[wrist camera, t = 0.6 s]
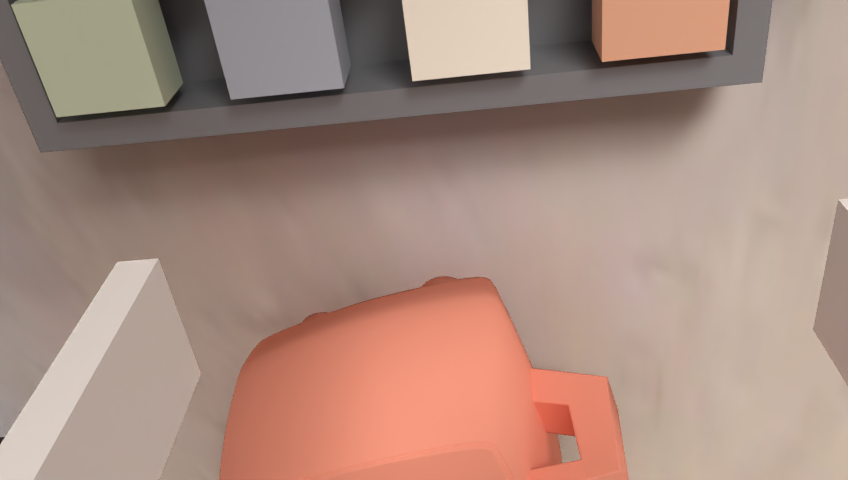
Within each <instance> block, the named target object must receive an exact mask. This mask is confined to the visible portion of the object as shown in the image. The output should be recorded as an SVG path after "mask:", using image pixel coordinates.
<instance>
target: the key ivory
mask: <svg viewBox="0 0 848 480" xmlns="http://www.w3.org/2000/svg"><path fill="white" fill-rule="evenodd" d="M402 6H403V13H404V21H405V28H406V36H407V44H408V51H409V59H410V66H411V74H412V81H420V80H430V79H440V78H449V77H459V76H469V75H479V74H489V73H499V72H509V71H518V70H528V69H531V68H530V45H529V22H528V0H402Z"/></svg>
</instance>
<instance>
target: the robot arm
mask: <svg viewBox="0 0 848 480" xmlns="http://www.w3.org/2000/svg"><path fill="white" fill-rule="evenodd" d="M813 330H814V332H815V333H816V335H817V337H818V338H819V340H820V342H821V343H822V345H823V346H824V348H825V350H826V351H827V353H828V354H829V356H830V358H831V359H832V361H833V362H834V364H835V366H836V367H837V369H838V371H839V372H840V374H841V375H842V377H843V379H844V380H845V382H846V383H847V385H848V199H838V204H837V209H836V214H835V219H834V225H833V230H832V235H831V240H830V245H829V250H828V256H827V261H826V266H825V271H824V276H823V281H822V286H821V292H820V297H819V302H818V307H817V312H816V317H815V323H814V328H813ZM200 375H201V373H200V370H199V367H198V365H197V362H196V359H195V356H194V354H193V351H192V348H191V346H190V343H189V340H188V337H187V335H186V332H185V329H184V326H183V324H182V321H181V318H180V316H179V313H178V310H177V307H176V305H175V302H174V299H173V297H172V294H171V291H170V288H169V286H168V283H167V280H166V277H165V275H164V272H163V269H162V267H161V264H160V261H159V258H156V259H145V260H133V261H122V262H117V263H116V264H115V266H114V268H113V269H112V271H111V272H110V274H109V275H108V277H107V278H106V280H105V282H104V283H103V285H102V286H101V288H100V289H99V291H98V293H97V294H96V296H95V297H94V299H93V300H92V302H91V303H90V305H89V307H88V308H87V310H86V311H85V313H84V314H83V316H82V318H81V319H80V321H79V322H78V324H77V325H76V327H75V328H74V330H73V332H72V333H71V335H70V336H69V338H68V339H67V341H66V343H65V344H64V346H63V347H62V349H61V350H60V352H59V353H58V355H57V357H56V358H55V360H54V361H53V363H52V364H51V366H50V368H49V369H48V371H47V372H46V374H45V375H44V377H43V378H42V380H41V382H40V383H39V385H38V386H37V388H36V389H35V391H34V393H33V394H32V396H31V397H30V399H29V400H28V402H27V403H26V405H25V407H24V408H23V410H22V411H21V413H20V414H19V416H18V418H17V419H16V421H15V422H14V424H13V425H12V427H11V428H10V430H9V432H8V433H7V435H6V436H5V437H0V480H159V479H160V477H161V474H162V472H163V469H164V467H165V464H166V462H167V459H168V457H169V454H170V451H171V449H172V446H173V444H174V441H175V439H176V436H177V434H178V431H179V429H180V426H181V424H182V421H183V418H184V416H185V413H186V411H187V408H188V406H189V403H190V401H191V398H192V396H193V393H194V390H195V388H196V385H197V383H198V380H199V378H200Z"/></svg>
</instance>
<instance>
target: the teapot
mask: <svg viewBox="0 0 848 480" xmlns="http://www.w3.org/2000/svg"><path fill="white" fill-rule="evenodd" d="M557 434H562V435H570V436H576V441H577V445H578V449H579V454H580V458H581V460H578V461H572V462H567V463H562V458H561V451H560V444H559V440H558V436H557ZM219 480H629V479H628V473H627V466H626V460H625V453H624V447H623V440H622V434H621V428H620V421H619V415H618V409H617V406H616V403H615V400H614V397H613V393H612V390H611V387H610V384H609V381H608V378H607V377H604V376H596V375H587V374H578V373H570V372H561V371H552V370H543V369H535V368H533V367H532V365H531V362H530V360H529V358H528V356H527V353H526V351H525V349H524V346H523V344H522V342H521V340H520V338H519V335H518V333H517V331H516V329H515V327H514V324H513V322H512V320H511V318H510V315H509V313H508V311H507V309H506V307H505V305H504V303H503V301H502V299H501V297H500V295H499V293H498V291H497V289H496V287H495V286H494V285H493V283H492V282H491V280H490V279H487V278H484V277H473V278H464V279H456V278H453V277H446V276H444V277H436V278H433V279H431V280H429V281H427V282H426V283H425V284H424V285H423V286H422V287H420V288H416V289H411V290H407V291H403V292H399V293H394V294H390V295H386V296H382V297H378V298H375V299H371V300H368V301H364V302H361V303H357V304H354V305H351V306H348V307H345V308H342V309H339V310H336V311H333V312H330V313H325V312H322V313H315V314H312V315H310V316H308V317H307V318H306V319H305V320H304V321H303V322H302V323H300V324H298V325H295V326H292V327H290V328H287V329H285V330H283V331H280V332H278V333H275V334H273V335H271V336H269V337H267V338H266V339H264V340H262V341H261V342H260V343H259V344H258V345H257V346H256V347H255V348H254V350H253V351H252V352H251V354H250V355H249V357H248V358H247V360H246V361H245V363H244V365H243V367H242V369H241V371H240V374H239V377H238V380H237V383H236V387H235V391H234V395H233V399H232V403H231V407H230V412H229V416H228V421H227V426H226V432H225V437H224V445H223V452H222V460H221V469H220V479H219Z"/></svg>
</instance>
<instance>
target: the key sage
mask: <svg viewBox="0 0 848 480" xmlns="http://www.w3.org/2000/svg"><path fill="white" fill-rule="evenodd" d="M11 6H12V9H13V11H14V14H15V16H16V19H17V21H18V24H19V26H20V28H21V31H22V33H23V36H24V38H25V41H26V43H27V46H28V48H29V51H30V53H31V56H32V58H33V61H34V63H35V66H36V68H37V70H38V73H39V75H40V78H41V80H42V83H43V85H44V88H45V90H46V93H47V95H48V98H49V100H50V103H51V105H52V108H53V110H54V112H55V115H56V117H65V116H75V115H85V114H94V113H104V112H114V111H124V110H134V109H144V108H154V107H163V106H166V105H167V103H168V102H169V101H170V100H171V98H172V97H173V96H174V94H175V93H176V92H177V90H178V89H179V88H180V87H181V85H182V84H183V81H182V77H181V74H180V71H179V67H178V64H177V61H176V57H175V54H174V51H173V47H172V44H171V41H170V37H169V34H168V31H167V27H166V24H165V21H164V17H163V14H162V11H161V7H160V4H159V1H158V0H18V1H16V2H14V3H13V4H11Z"/></svg>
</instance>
